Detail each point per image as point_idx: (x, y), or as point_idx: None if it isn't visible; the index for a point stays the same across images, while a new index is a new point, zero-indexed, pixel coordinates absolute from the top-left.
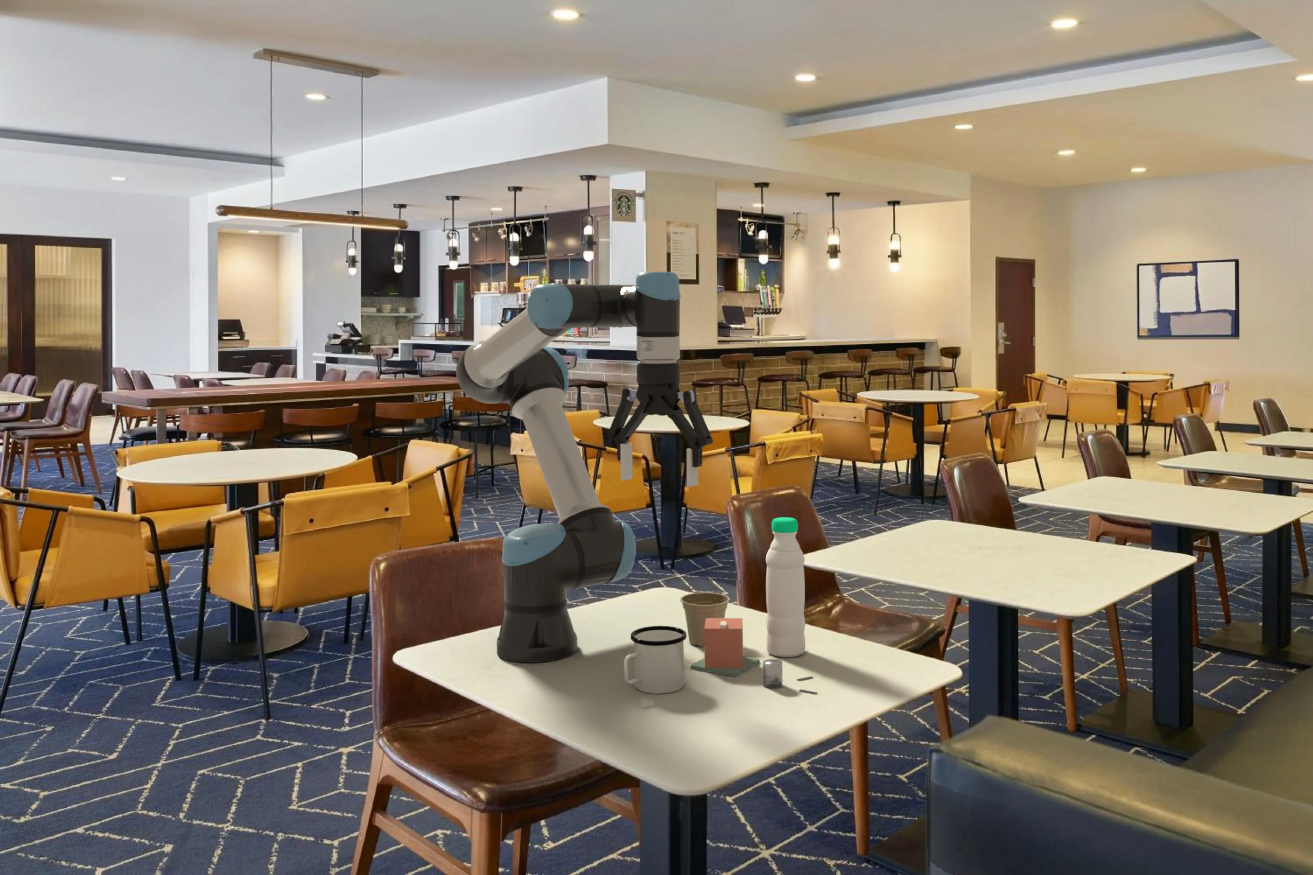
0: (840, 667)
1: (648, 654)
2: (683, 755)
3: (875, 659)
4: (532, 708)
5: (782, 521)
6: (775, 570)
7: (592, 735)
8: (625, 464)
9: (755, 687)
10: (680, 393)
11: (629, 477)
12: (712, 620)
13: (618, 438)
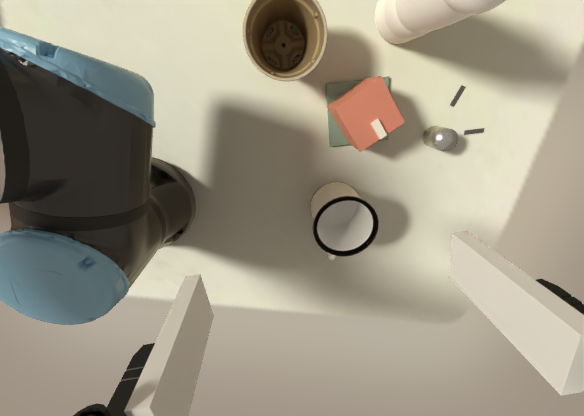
0: (483, 28)
1: (348, 244)
2: (432, 295)
3: None
4: (280, 301)
5: None
6: (465, 15)
7: (356, 307)
8: (199, 354)
9: (419, 152)
10: None
11: (203, 293)
12: (349, 113)
13: None
